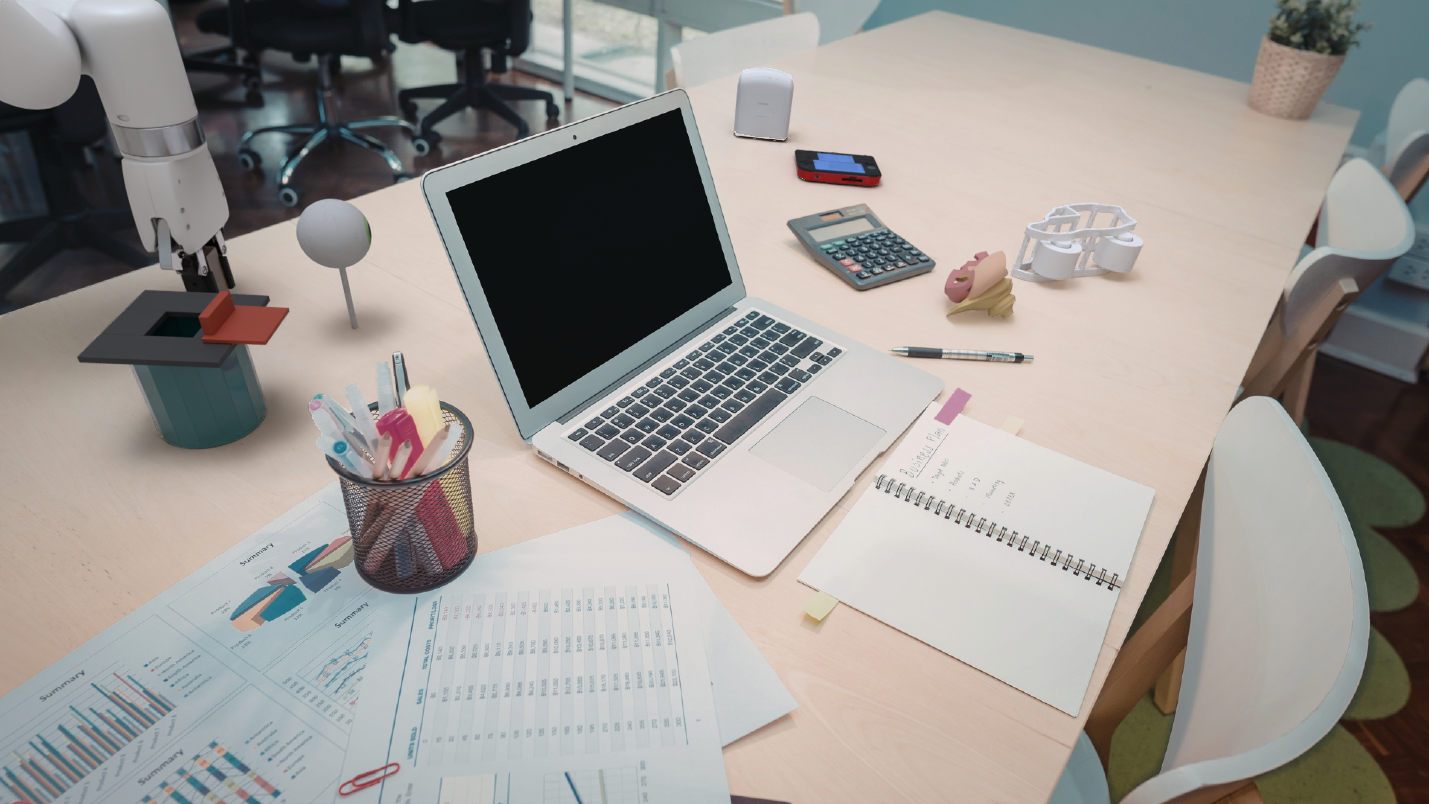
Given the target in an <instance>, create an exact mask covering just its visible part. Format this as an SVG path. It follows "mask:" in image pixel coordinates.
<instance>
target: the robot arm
mask: <svg viewBox="0 0 1429 804" xmlns="http://www.w3.org/2000/svg"><path fill="white" fill-rule="evenodd" d="M81 75H87V76H89V77H90V78H91V79H92V80H93V81H94V84H95V87H96V90H97V93H98V95H99V98H100V101H101V103H102V106H103V109H104V112H105V114H106V117H107V120H108V122H109V125H110V127H111V130H112V133H113V135H114V138H115V142H116V143H117V146H118V147H117V148H118V149H119V152H120V154H121V156H122V159H121V169H122V175H123V180H124V185H125V191H126V195H127V198H128V202H129V206H130V210H131V213H132V216H133V219H134V220H133V221H134V222H135V227H136V229H137V232H138V235H139V238H140V241H141V243H142V246H143V248H144V249H145V250H146V252H148V253H150V254H151V253H153V254H154V253H157V252H158V260H159V261H158V262H159V263H158V264H159V268H160V269H161V270H162V271H175V273H176V275H180V277H181V280H182V284H183V287H184V288H185V292H202V293H219V289H218V286H217V283H216V280H215V277H214V274H213V271H208V268H207V264H206V261H205V257H204V254H203V250H202V246H213V247H216V250H217V253H218V256H219V260H220V263H221V266H222V269H223V272H224V275H225V278H226V282H227V285H228V288H229V290H233V289H235V288H236V281H235V278H234V275H233V272H232V269H231V266H230V261H229V258H228V256H227V255H226V254H227V253H228V247H227V244H226V241H225V239H224V238H225V237H224V236H225V235H224V234H225V229H224V227H225V225H226V223H227V222H228V220H229V217H230V210H229V206H228V200H227V197H226V194H225V191H224V188H223V184H222V181H221V177H220V176H219V172H218V171H217V167H216V165H215V162H214V160H213V157H212V155H211V153H210V151H209V148H208V142H207V139H206V135H205V131H204V128H203V125H202V122H201V118H200V115H199V112H198V108H197V104H196V101H195V98H194V95H193V92H192V88H191V84H190V82H189V78H188V74H187V72H186V68H185V65H184V61H183V58H182V55H181V52H180V48H179V45H178V41H177V37H176V35H175V31H174V28H173V25H172V21H171V19H170V16H169V13H168V11H167V9H165V8H164V6H163V5H162V4H161V3H160V2H158V1H157V0H0V102H3V103H5V104H7V105H10V106H14V107H17V108H22V109H26V110H46V109H52V108H54V107H59V106H61V105H62V104H63V103H66V102H67V101H69V100H70V99H71V98H72V97H73V95H74V94H75V93H76V91H77V90H78V88H79V84H80V80H81ZM184 254H192V255H193V259H194V261H193V260H191V259H189V258H183V255H184Z"/></svg>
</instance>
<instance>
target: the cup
mask: <svg viewBox="0 0 1429 804" xmlns="http://www.w3.org/2000/svg"><path fill="white" fill-rule="evenodd" d="M201 328H202V326H201V323H200V321H199V318H191V317H167V319H166V320H165V321H164V322H163V323H162V324H161V325H160V326H159V327H158V328H157V329H156V331H155V332H154V333H153V334H152V335H151V336H163V337H187V338H193V337H194V336H195V335H196V334H197V332H198V331H199V330H200V329H201ZM129 368H130V370H131V372H132V375H133V377H134V379H135V382H136V383H137V387H138V388H139V391H140V393H141V395H142V398H143V400H144V402H145V404H146V407H147V409H148V411H149V414H150V416H151V419H152V421H153V423H154V425H155V428H156V430H157V432H158V433H159V435H160V436H161V438H162V440H164V441H165V442H167V443H168V444H169V445H171V446H174V447H178V448H182V449H190V450H201V449H210V448H216V447H220V446H223V445H224V446H225V445H228V444H230V443H232V442H235V441H238V440H240V439H241V438H244V437H246V436H247V435H249V434H251V433H252V432H253V431H254V430H255V429H257V428H258V427H259V426H260V425H261V424H262V422H263V421H264V419H265V417H266V414H267V410H268V409H267V404H266V398H265V395H264V392H263V389H262V385H261V382H260V379H259V376H258V372H257V370H256V366H255V363H254V360H253V357H252V354H251V351H250V348H249V344H237V346H236V347H235V348H234V350H233V351H232V352H231V354H230V355H229V356H228V358H227V359H226V360H225V362H224V363H223V364H222V366H221V367H220V368H205V367H179V366H153V365H129Z"/></svg>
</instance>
